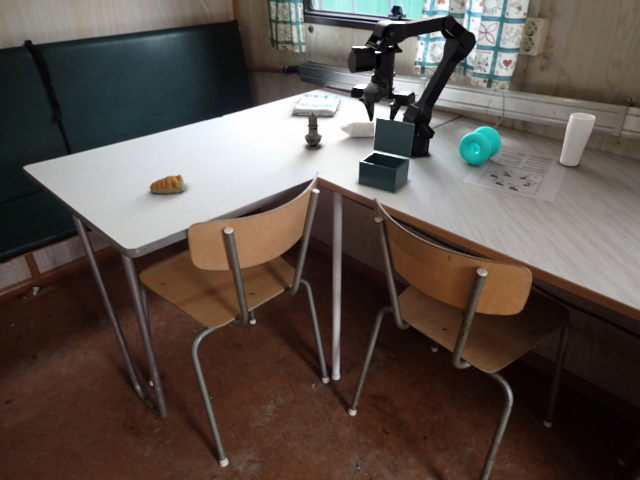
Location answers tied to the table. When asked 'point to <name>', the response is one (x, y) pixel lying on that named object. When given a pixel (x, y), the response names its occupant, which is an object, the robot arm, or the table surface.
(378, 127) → the green box lid
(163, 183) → the pastry
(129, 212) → the table surface
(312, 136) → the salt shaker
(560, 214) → the table surface
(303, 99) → the dish towel
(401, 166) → the open-top green box
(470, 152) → the donuts
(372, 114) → the robot arm
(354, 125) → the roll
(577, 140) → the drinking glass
